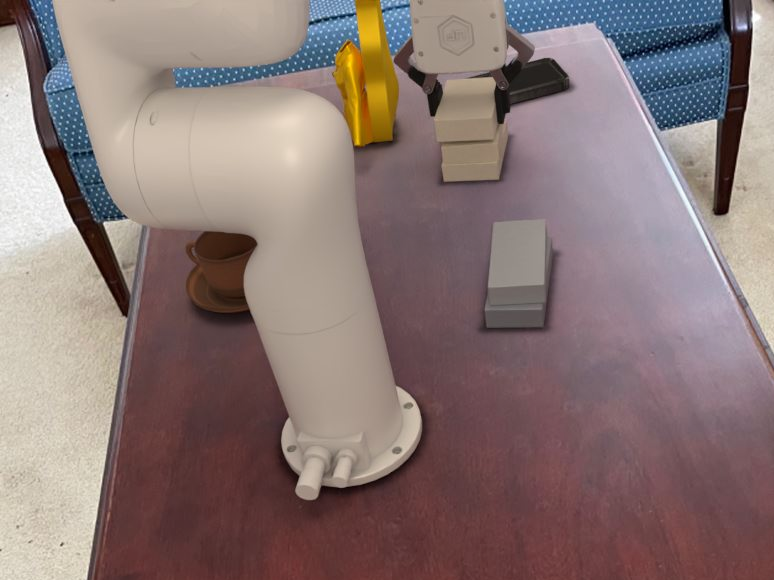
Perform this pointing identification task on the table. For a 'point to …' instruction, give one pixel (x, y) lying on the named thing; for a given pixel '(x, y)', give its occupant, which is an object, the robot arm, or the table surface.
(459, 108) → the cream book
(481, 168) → the cream stack
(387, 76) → the figure statuette
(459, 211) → the table surface
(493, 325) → the grey stack
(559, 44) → the table surface
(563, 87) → the phone
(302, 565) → the table surface
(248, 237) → the cup and saucer
